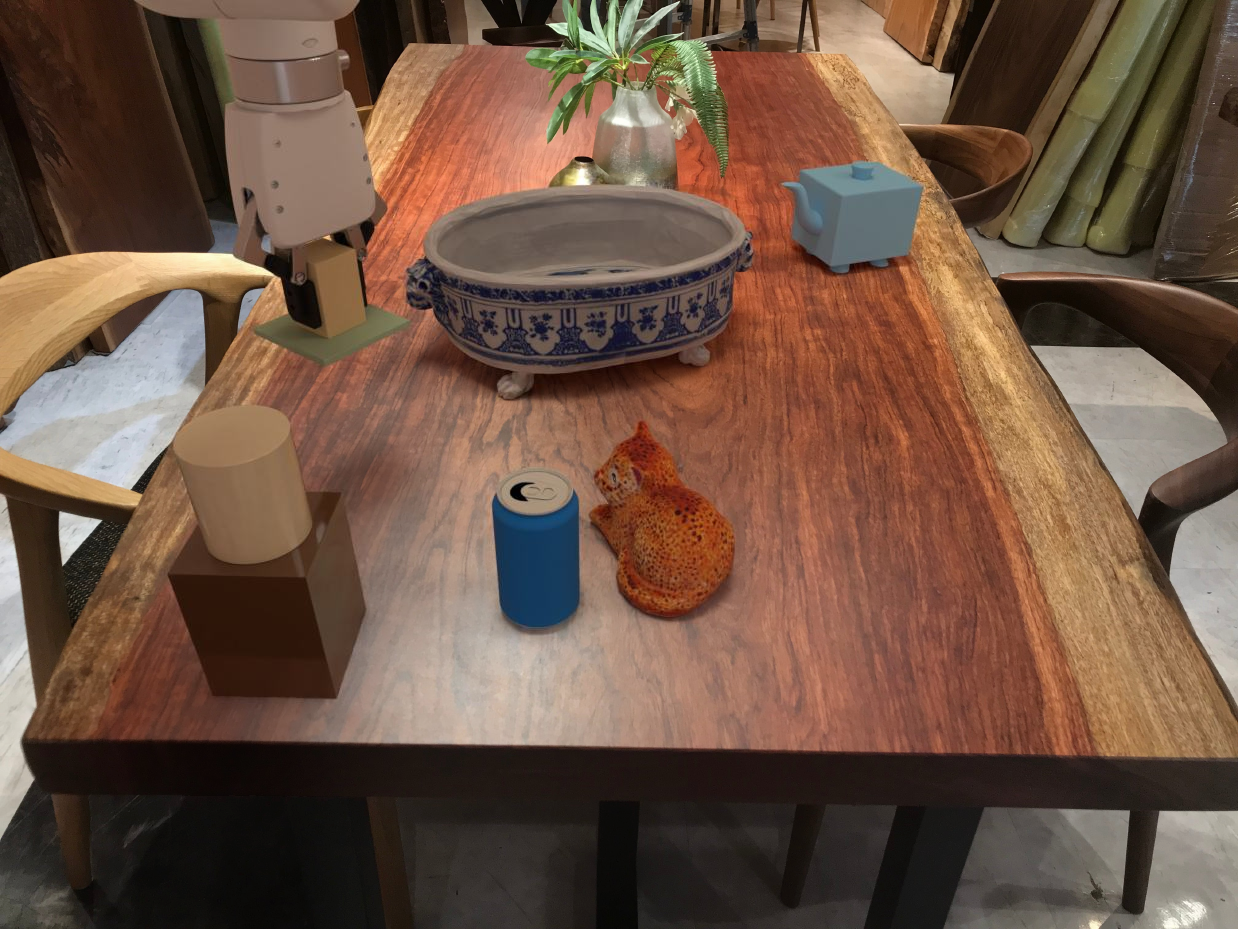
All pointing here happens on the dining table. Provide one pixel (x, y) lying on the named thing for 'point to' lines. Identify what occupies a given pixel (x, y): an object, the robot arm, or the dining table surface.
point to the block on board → (336, 344)
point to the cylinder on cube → (263, 561)
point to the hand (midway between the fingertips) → (329, 311)
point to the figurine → (660, 529)
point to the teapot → (854, 213)
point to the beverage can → (537, 546)
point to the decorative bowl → (581, 278)
